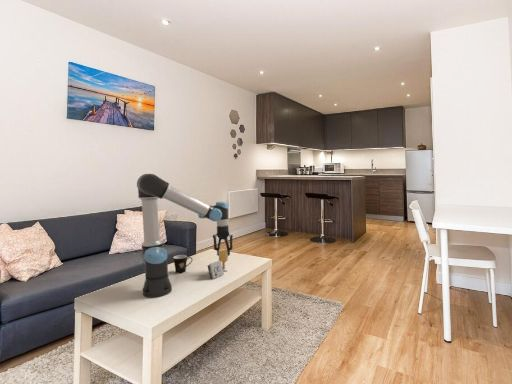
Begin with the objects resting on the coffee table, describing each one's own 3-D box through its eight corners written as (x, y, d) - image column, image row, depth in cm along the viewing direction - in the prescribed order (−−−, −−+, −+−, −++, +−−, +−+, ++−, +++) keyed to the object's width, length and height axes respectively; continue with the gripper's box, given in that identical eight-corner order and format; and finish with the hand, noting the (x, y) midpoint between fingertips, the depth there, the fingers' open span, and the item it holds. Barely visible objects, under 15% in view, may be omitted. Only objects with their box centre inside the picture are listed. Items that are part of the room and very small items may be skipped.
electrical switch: (213, 279, 173) (211, 264, 173) (207, 278, 176) (206, 263, 176) (224, 275, 180) (222, 260, 180) (218, 274, 183) (217, 259, 183)
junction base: (220, 272, 185) (220, 270, 185) (219, 270, 189) (219, 267, 189) (227, 271, 186) (227, 269, 186) (226, 269, 190) (226, 267, 190)
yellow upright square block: (227, 259, 189) (227, 249, 189) (226, 261, 185) (226, 251, 184) (221, 259, 190) (220, 249, 189) (219, 261, 185) (219, 251, 185)
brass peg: (222, 269, 186) (222, 260, 186) (222, 268, 188) (222, 260, 188) (225, 268, 187) (224, 260, 187) (224, 268, 188) (224, 260, 188)
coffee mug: (172, 274, 183) (171, 258, 182) (175, 269, 192) (175, 255, 191) (190, 273, 183) (190, 258, 183) (193, 269, 192) (192, 254, 191)
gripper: (236, 224, 189) (237, 258, 190) (210, 224, 190) (212, 258, 192) (234, 226, 181) (236, 262, 183) (208, 226, 183) (209, 262, 184)
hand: (223, 260), depth 187 cm, fingers closed on yellow upright square block, 4 cm apart
